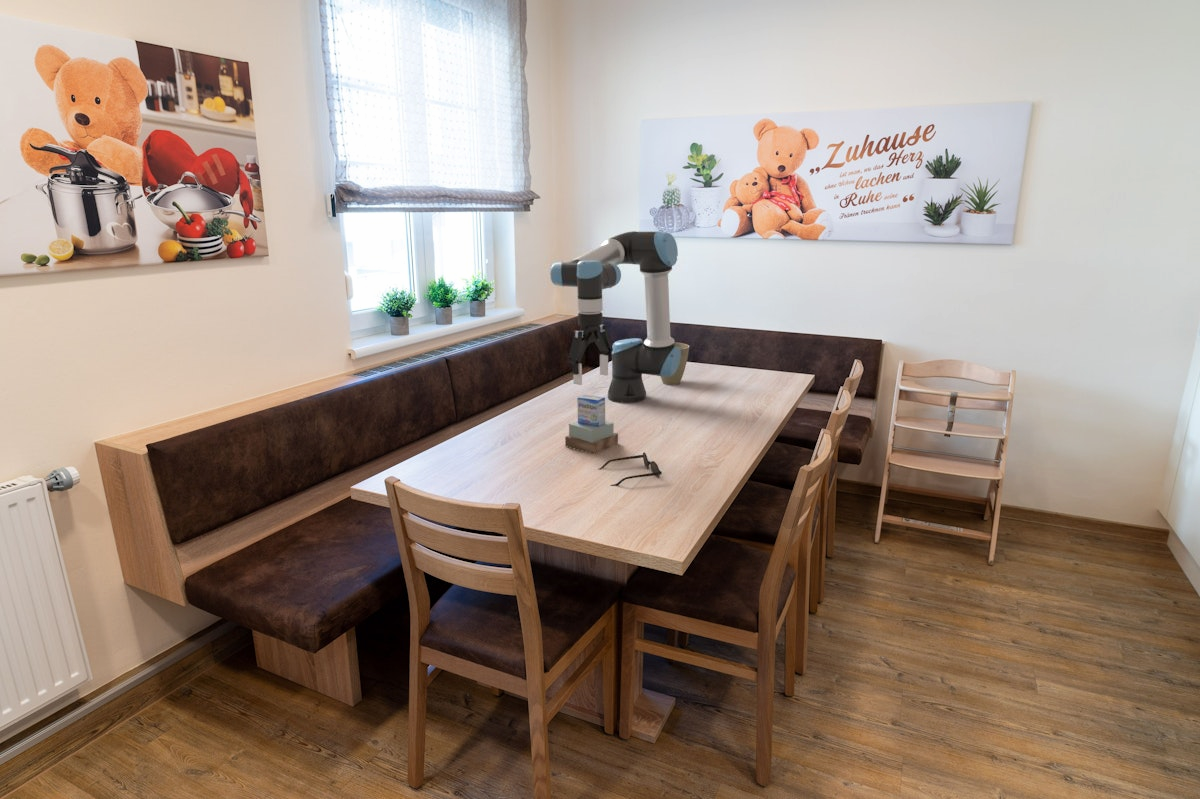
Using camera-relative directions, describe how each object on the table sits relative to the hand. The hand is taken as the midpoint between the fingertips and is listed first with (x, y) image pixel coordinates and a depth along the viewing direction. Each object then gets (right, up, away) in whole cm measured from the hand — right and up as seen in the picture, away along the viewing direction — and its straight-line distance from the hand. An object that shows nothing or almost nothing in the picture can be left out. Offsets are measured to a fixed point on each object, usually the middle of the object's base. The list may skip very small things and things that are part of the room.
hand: (591, 379), depth 225 cm
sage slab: (0, -18, +4) cm, 18 cm away
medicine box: (0, -14, +3) cm, 14 cm away
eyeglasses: (+11, -28, -19) cm, 36 cm away
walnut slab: (0, -21, +6) cm, 22 cm away
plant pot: (+33, +1, +80) cm, 87 cm away
